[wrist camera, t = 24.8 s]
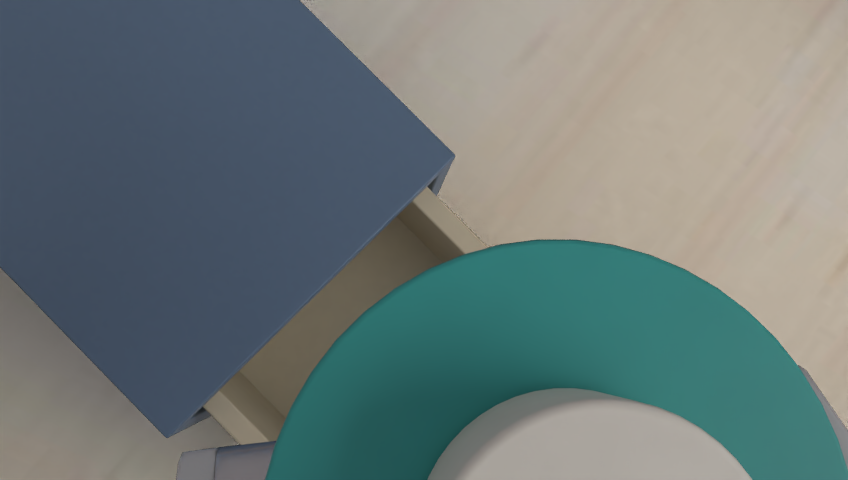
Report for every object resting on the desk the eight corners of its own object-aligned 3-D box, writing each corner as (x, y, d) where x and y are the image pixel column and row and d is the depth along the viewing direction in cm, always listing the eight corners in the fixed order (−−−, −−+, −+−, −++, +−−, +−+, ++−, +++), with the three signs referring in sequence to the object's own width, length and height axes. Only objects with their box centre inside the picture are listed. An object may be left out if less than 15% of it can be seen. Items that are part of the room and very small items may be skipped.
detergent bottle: (607, 558, 18) (1025, 958, 6) (330, 583, 17) (243, 1056, 6) (582, 283, 18) (918, 195, 7) (316, 301, 18) (211, 240, 7)
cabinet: (435, 199, 38) (456, 155, 28) (221, 411, 36) (166, 439, 27) (187, -48, 39) (126, -172, 29) (-35, 149, 37) (-177, 85, 27)
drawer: (656, 434, 36) (733, 462, 29) (463, 644, 35) (488, 733, 27) (336, 115, 37) (327, 58, 29) (133, 307, 36) (67, 300, 28)
